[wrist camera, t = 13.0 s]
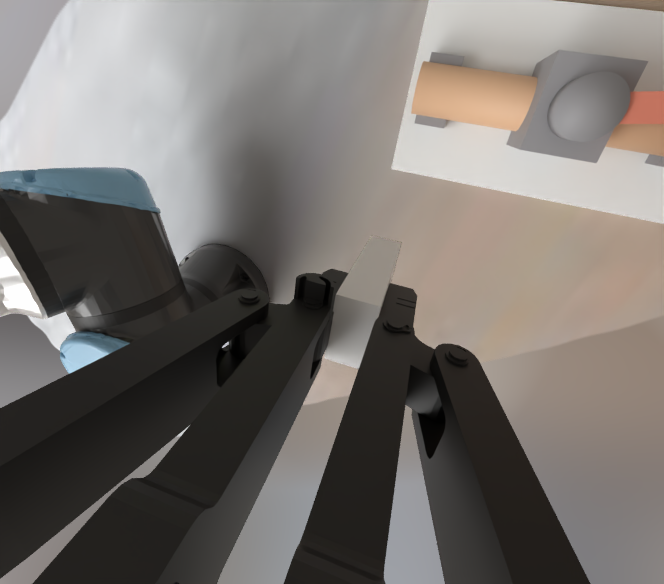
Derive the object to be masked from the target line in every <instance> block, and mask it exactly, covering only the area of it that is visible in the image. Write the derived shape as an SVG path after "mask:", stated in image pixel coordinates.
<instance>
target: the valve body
mask: <svg viewBox="0 0 664 584" xmlns="http://www.w3.org/2000/svg"><path fill="white" fill-rule="evenodd" d="M603 71H605V72H613V73H616V74H618V75H620V76H621V77H622V78H623V79H624V80H625V81H626V82H627V84H628V86H629V89H630V92H641V91H664V12H662V11H652V10H643V9H633V8H623V7H613V6H604V5H594V4H584V3H574V2H565V1H555V0H429V2H428V7H427V11H426V16H425V20H424V25H423V29H422V34H421V38H420V42H419V47H418V51H417V56H416V60H415V65H414V69H413V74H412V78H411V83H410V87H409V92H408V96H407V100H406V105H405V109H404V114H403V118H402V123H401V127H400V132H399V136H398V141H397V145H396V149H395V154H394V158H393V163H392V167H391V169H394V170H399V171H404V172H409V173H414V174H419V175H424V176H429V177H434V178H439V179H444V180H448V181H453V182H458V183H463V184H468V185H473V186H478V187H483V188H488V189H493V190H498V191H503V192H508V193H513V194H518V195H523V196H528V197H533V198H538V199H543V200H548V201H553V202H558V203H563V204H568V205H573V206H578V207H583V208H587V209H592V210H597V211H602V212H607V213H612V214H617V215H622V216H627V217H632V218H637V219H642V220H647V221H652V222H657V223H662V224H664V124H618V125H617V126H616V127H615V128H614V129H613V130H611V131H610V132H609V133H607V134H606V135H604V136H602V137H600V138H598V139H595V140H592V141H586V142H578V141H571V140H565V139H562V138H559V137H558V136H556V135H555V134H554V133H553V132H552V131H551V129H550V128H549V125H548V121H547V113H548V109H549V105H550V103H551V101H552V99H553V98H554V96H555V95H556V93H557V92H558V91H559V90H560V89H561V88H562V87H563V86H564V85H566V84H567V83H569V82H570V81H572V80H574V79H576V78H579V77H582V76H585V75H589V74H592V73H596V72H603Z"/></svg>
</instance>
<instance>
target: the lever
mask: <svg viewBox="0 0 664 584" xmlns="http://www.w3.org/2000/svg"><path fill="white" fill-rule="evenodd" d="M547 121H548V125H549V128H550V129H551V131H552V132H553V133H554V134H555V135H556V136H558V137H559V138H562V139H565V140H571V141H578V142H586V141H592V140H595V139H598V138H600V137H602V136H604V135H606V134H607V133H609V132H610V131H611V130H613V129H614V128H615V127H616V126H617V125H618V124H664V91H641V92H630V89H629V86H628V84H627V82H626V81H625V80H624V79H623V78H622V77H621V76H620V75H618V74H616V73H613V72H605V71H603V72H596V73H592V74H589V75H585V76H582V77H579V78H576V79H574V80H572V81H570V82H569V83H567V84H566V85H564V86H563V87H562V88H561V89H560V90H559V91H558V92H557V93H556V95H555V96H554V98H553V99H552V101H551V103H550V105H549V109H548V113H547Z"/></svg>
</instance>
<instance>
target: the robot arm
mask: <svg viewBox="0 0 664 584" xmlns="http://www.w3.org/2000/svg"><path fill="white" fill-rule="evenodd" d="M159 213H160V210H159V208H157V207H156V204H155V202H154V200H153V197H152V195H151V193H150V190H149V188H148V186H147V183H146V181H145V180H144V179H143V177H142V176H141V175H139V174H138V173H136V172H135V171H133V170H130V169H126V168H106V167H93V168H53V169H38V170H24V171H18V170H17V171H5V172H0V317H1V316H4V315H7V314H10V313H20V314H24V315H28V316H32V317H36V318H40V319H46V318H49V317H52V316H55V315H57V314H60V313H63V312H66V313H67V315H68V317H69V319H70V320H71V322H72V324H73V326H74V328H75V330H76V332H75V333H72V334H70V335H69V336H67V338H66V340H65V341H64V342H63V343H62V344H61V347H60V351H61V353H60V358H61V361H62V363H63V365H64V367H65V368H66V370H67V371H68V373H69V374H68V375H66V376H64V377H62V378H60V379H58V380H56V381H54V382H52V383H50V384H48V385H46V386H44V387H42V388H40V389H38V390H36V391H34V392H32V393H30V394H28V395H26V396H24V397H22V398H20V399H18V400H16V401H14V402H12V403H10V404H8V405H6V406H4V407H2V408H0V578H2V577H3V576H4V575H6V574H7V573H8V572H9V571H11V570H12V569H13V568H15V567H16V566H17V565H19V564H20V563H21V562H22V561H24V560H25V559H26V558H28V557H29V556H30V555H31V554H33V553H34V552H35V551H36V550H38V549H39V548H40V547H41V546H42V545H43V544H45V543H46V542H47V541H48V540H50V539H51V538H52V537H53V536H55V535H56V534H57V533H58V532H60V531H61V530H62V529H63V528H64V527H65V526H67V525H68V524H69V523H71V522H72V521H73V520H74V519H75V518H77V517H78V516H79V515H80V514H82V513H83V512H84V511H85V510H87V509H88V508H89V507H90V506H91V505H93V504H94V503H95V502H96V501H98V500H99V499H100V498H101V497H102V496H104V495H105V494H106V493H107V492H108V491H110V490H111V489H112V488H113V487H114V486H116V485H117V484H118V483H119V482H121V481H122V480H123V479H124V478H125V477H127V476H128V475H129V474H131V473H132V472H133V471H134V470H135V469H137V468H138V467H139V466H140V465H142V464H143V463H144V462H145V461H146V460H148V459H149V458H150V457H151V456H152V455H154V454H155V453H156V452H157V451H159V450H160V449H161V448H162V447H164V446H165V445H166V444H167V443H168V442H170V441H171V440H172V439H173V438H175V437H176V436H177V435H178V434H179V433H181V432H182V431H183V430H184V429H186V428H187V427H188V426H189V425H190V426H189V427H188V429H187V430H186V431H185V432H184V433H183V435H182V436H181V437H180V438H179V440H178V441H177V442H176V443H175V444H174V446H173V447H172V448H171V449H170V451H169V452H168V453H167V454H166V456H165V457H164V458H163V459H162V460H161V462H160V463H159V464H158V465H157V467H156V468H155V469H154V470H153V471H152V472H151V473H150V474H149V475H147V476H146V477H144V478H132V479H130V480H128V481H127V482H125V483H124V484H122V485H121V486H120V487H118V489H116V490H115V491H114V492H113V493H112V494H111V495H110V496H109V497H108V498H107V500H106V501H105V502H104V503H103V504H102V505H101V507H100V508H99V509H98V510H97V511H96V512H95V513H94V514H93V516H92V517H91V518H90V519H89V520H88V521H87V523H85V525H84V526H83V527H82V528H81V529H80V530H79V531H78V533H77V534H76V535H75V536H74V537H73V538H72V540H71V541H70V542H69V543H68V544H67V545H66V546H65V547H64V549H63V550H62V551H61V552H60V553H59V554H58V555H57V557H56V558H55V559H54V560H53V561H52V562H51V563H50V564H49V566H48V567H47V568H46V569H45V570H44V571H43V572H42V573H41V575H40V576H39V577H38V578H37V579H36V580H35V582H34V583H33V584H217V582H218V579H219V577H220V574H221V572H222V569H223V568H224V565H225V563H226V561H227V559H228V557H229V555H230V553H231V551H232V549H233V547H234V545H235V543H236V540H237V539H238V537H239V535H240V532H241V530H242V528H243V526H244V524H245V522H246V520H247V518H248V516H249V514H250V511H251V510H252V508H253V505H254V504H255V501H256V499H257V497H258V495H259V493H260V491H261V489H262V487H263V485H264V483H265V481H266V479H267V477H268V474H269V473H270V470H271V468H272V466H273V464H274V462H275V460H276V458H277V456H278V454H279V452H280V450H281V448H282V445H283V444H284V441H285V440H286V437H287V435H288V433H289V431H290V429H291V427H292V425H293V423H294V421H295V419H296V417H297V415H298V412H299V410H300V409H301V406H302V404H303V402H304V400H305V398H306V396H307V394H308V392H309V390H310V388H311V386H312V384H313V382H314V380H315V378H316V375H317V373H318V371H319V369H320V367H321V361H322V356H323V354H324V352H325V350H326V352H325V359H328V360H331V361H334V362H337V363H340V364H344V365H347V366H350V367H353V368H356V369H359V370H358V373H357V376H356V379H355V382H354V385H353V388H352V391H351V394H350V397H349V400H348V403H347V405H346V409H345V411H344V415H343V418H342V421H341V423H340V426H339V429H338V432H337V436H336V438H335V442H334V444H333V448H332V450H331V453H330V456H329V459H328V462H327V465H326V468H325V471H324V474H323V477H322V480H321V483H320V486H319V489H318V492H317V495H316V498H315V501H314V504H313V507H312V510H311V513H310V516H309V519H308V521H307V525H306V527H305V530H304V533H303V536H302V539H301V541H300V544H299V545H298V547H297V549H296V551H295V554H294V556H293V559H292V562H291V565H290V567H289V570H288V573H287V576H286V579H285V582H284V584H385V581H384V564H385V556H386V548H387V541H388V533H389V525H390V518H391V510H392V503H393V495H394V487H395V480H396V472H397V464H398V457H399V448H400V441H401V433H402V426H403V418H404V410H405V405H407V406H409V407H410V408H412V419H413V424H414V429H415V434H416V439H417V444H418V449H419V454H420V459H421V464H422V469H423V474H424V480H425V485H426V490H427V495H428V500H429V504H430V510H431V515H432V520H433V525H434V530H435V535H436V540H437V545H438V550H439V555H440V560H441V565H442V570H443V576H444V581H445V584H590V582H589V580H588V578H587V576H586V574H585V572H584V570H583V568H582V566H581V564H580V562H579V560H578V558H577V556H576V554H575V552H574V550H573V548H572V546H571V544H570V542H569V540H568V538H567V536H566V534H565V532H564V530H563V528H562V526H561V524H560V522H559V520H558V518H557V516H556V514H555V512H554V510H553V508H552V506H551V504H550V502H549V500H548V498H547V496H546V494H545V493H544V490H543V488H542V486H541V484H540V482H539V480H538V478H537V476H536V474H535V472H534V470H533V468H532V466H531V464H530V462H529V460H528V458H527V456H526V454H525V452H524V450H523V448H522V446H521V444H520V443H519V440H518V438H517V436H516V434H515V432H514V430H513V429H512V426H511V425H510V423H509V420H508V419H507V416H506V414H505V413H504V410H503V409H502V406H501V405H500V402H499V400H498V398H497V396H496V394H495V392H494V391H493V389H492V386H491V384H490V382H489V380H488V378H487V376H486V375H485V372H484V371H483V369H482V366H481V364H480V362H479V361H478V359H477V358H476V357H475V355H474V354H472V353H471V352H470V351H468V350H467V349H465V348H463V347H461V346H458V345H454V344H441V345H438V346H437V347H436V349H433V348H431V347H429V346H427V345H425V344H424V343H422V342H421V341H420V340H418V339H417V337H416V336H415V335H414V334H415V332H414V328H413V323H414V315H415V308H416V301H417V295H416V293H415V292H414V290H413V289H410V288H407V287H403V286H399V285H395V284H391V281H392V277H393V273H394V269H395V266H396V262H397V258H398V254H399V251H400V247H401V243H402V242H398V241H394V240H390V239H386V238H381V237H377V236H373V235H371V237H370V239H369V240H368V242H367V244H366V245H365V247H364V249H363V250H362V252H361V254H360V255H359V257H358V259H357V260H356V262H355V264H354V265H353V267H352V269H351V270H350V272H349V273H346V272H342V271H338V270H335V269H330V270H328V271H325V272H323V274H322V275H321V274H316V273H306V274H301V275H299V276H298V277H296V285H295V295H294V299H293V300H292V302H291V303H290V304H287V305H286V304H271V303H269V296H268V290H267V286H266V283H265V281H264V278H263V276H262V275H261V273H260V271H259V270H258V268H257V267H256V266H255V265H254V264H253V262H252V261H251V260H249V259H248V258H247V257H246V256H245V255H243V254H242V253H240V252H239V251H237V250H235V249H233V248H231V247H228V246H224V245H218V244H211V245H206V246H203V247H200V248H198V249H196V250H195V251H193V252H191V253H189V254H188V255H187V256H186V257H185V258H184V259H183V260H182V261H181V263H180V264H179V266H178V265H177V262H176V259H175V256H174V254H173V251H172V248H171V246H170V243H169V240H168V237H167V234H166V231H165V229H164V226H163V223H162V220H161V217H160V214H159ZM228 341H229V345H227V346H226V347H224V348H222V346H223V345H224V344H225V343H227V342H228Z"/></svg>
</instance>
